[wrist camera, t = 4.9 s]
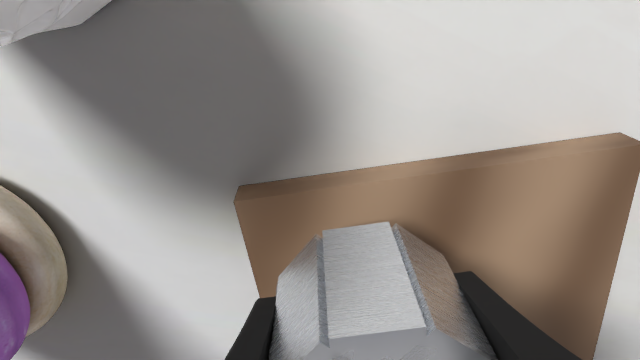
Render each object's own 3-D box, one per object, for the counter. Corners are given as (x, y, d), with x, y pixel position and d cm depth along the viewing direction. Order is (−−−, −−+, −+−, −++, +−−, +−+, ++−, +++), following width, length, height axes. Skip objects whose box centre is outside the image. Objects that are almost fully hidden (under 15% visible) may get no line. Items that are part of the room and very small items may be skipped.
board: (619, 132, 14) (758, 192, 9) (571, 359, 19) (647, 464, 15) (239, 185, 14) (210, 266, 10) (293, 393, 19) (289, 504, 15)
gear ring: (446, 213, 11) (510, 316, 8) (445, 342, 14) (495, 466, 10) (266, 237, 11) (246, 348, 8) (296, 360, 14) (292, 489, 10)
